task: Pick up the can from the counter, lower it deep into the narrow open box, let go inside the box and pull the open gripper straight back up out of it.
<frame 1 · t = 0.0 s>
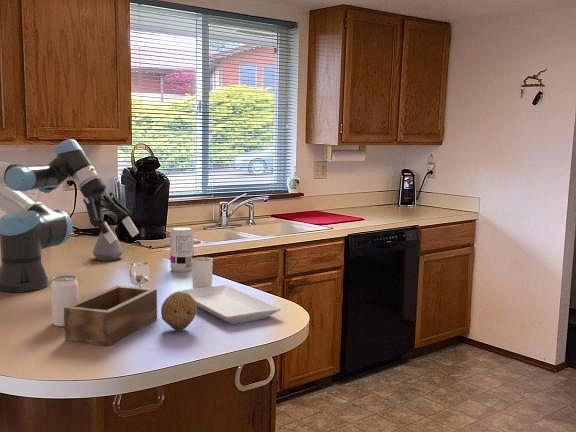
hand: (125, 238, 201), 15 cm above the worktop, tool tilted 35°, fingers open, 13 cm apart
can: (65, 324, 162), on the worktop
wineglass: (140, 305, 180), on the worktop
natural sponge: (178, 331, 157), on the worktop
supplement can: (182, 270, 227), on the worktop
coffee pot: (104, 257, 248), on the worktop
white cup: (202, 291, 198), on the worktop
narrow open box: (113, 328, 158), on the worktop
tray: (226, 311, 177), on the worktop
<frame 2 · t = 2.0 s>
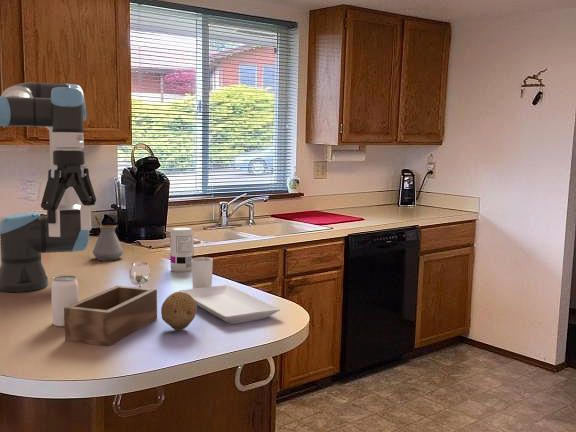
hand: (71, 233, 161), 23 cm above the worktop, tool pointing down, fingers open, 13 cm apart
nothing on the worktop moved.
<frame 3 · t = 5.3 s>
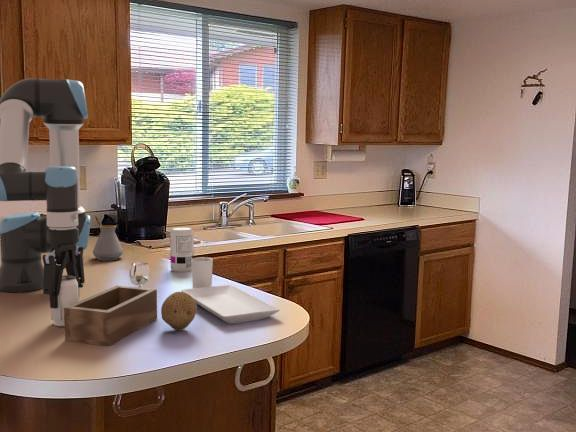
hand: (65, 315, 162), 2 cm above the worktop, tool pointing down, fingers closed on can, 6 cm apart
can: (65, 324, 162), on the worktop, touching gripper
everything else where it was.
when the fingers open (4 cm above the worktop, at t = 11.1 s): can drops 1 cm, resting on narrow open box.
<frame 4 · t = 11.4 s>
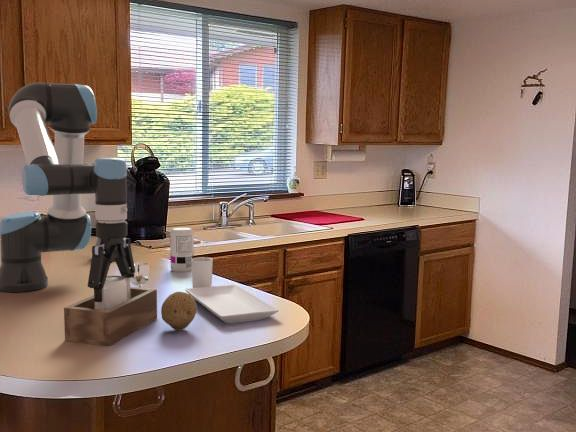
hand: (113, 308, 157), 5 cm above the worktop, tool pointing down, fingers open, 10 cm apart
can: (113, 325, 158), point 1 cm above the worktop, touching narrow open box
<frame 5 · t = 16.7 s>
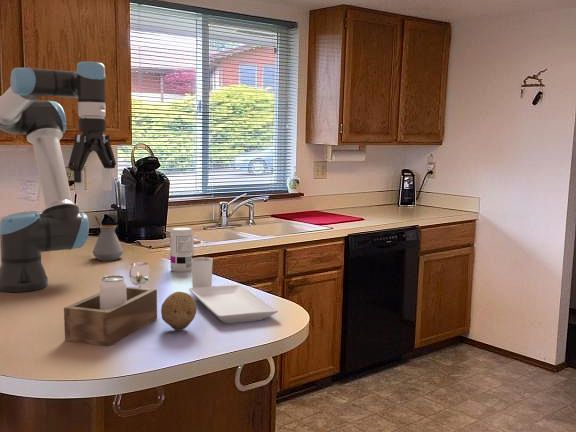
hand: (93, 192, 181), 32 cm above the worktop, tool pointing down, fingers open, 13 cm apart
at the end: can inside the target area on the narrow open box (0.2 cm from its centre), point 0.8 cm above the narrow open box's base; can tilted 0°; the gripper is holding nothing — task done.
